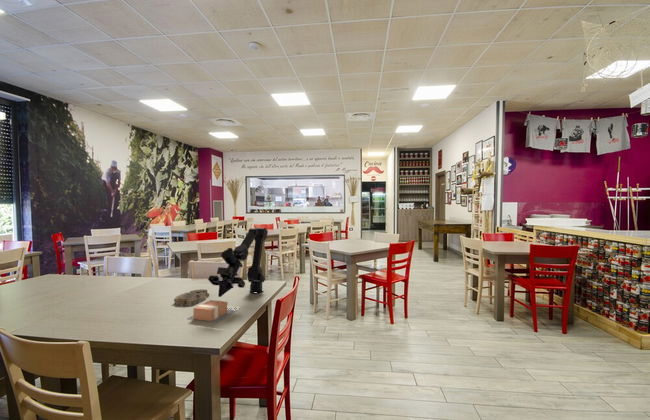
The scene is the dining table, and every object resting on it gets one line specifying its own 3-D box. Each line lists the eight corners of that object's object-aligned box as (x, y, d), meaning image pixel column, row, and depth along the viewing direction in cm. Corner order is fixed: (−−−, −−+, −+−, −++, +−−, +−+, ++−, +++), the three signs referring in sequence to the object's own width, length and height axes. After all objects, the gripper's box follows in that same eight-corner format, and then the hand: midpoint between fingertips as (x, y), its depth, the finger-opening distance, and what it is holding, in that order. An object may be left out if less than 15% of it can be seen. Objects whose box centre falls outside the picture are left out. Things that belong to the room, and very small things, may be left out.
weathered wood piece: (195, 294, 171) (169, 304, 152) (196, 286, 171) (170, 295, 152) (216, 296, 168) (192, 307, 148) (216, 288, 168) (192, 298, 148)
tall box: (210, 300, 142) (193, 307, 131) (227, 301, 140) (211, 309, 128) (210, 310, 142) (193, 318, 131) (227, 312, 140) (211, 321, 128)
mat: (217, 304, 152) (217, 303, 152) (243, 307, 148) (243, 306, 148) (186, 319, 131) (186, 319, 131) (216, 323, 126) (216, 322, 126)
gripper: (210, 259, 149) (195, 286, 138) (242, 261, 144) (228, 289, 133) (219, 271, 156) (206, 297, 146) (250, 273, 151) (238, 301, 141)
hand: (219, 296), depth 141 cm, fingers closed
